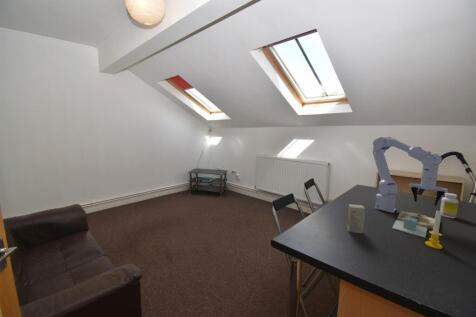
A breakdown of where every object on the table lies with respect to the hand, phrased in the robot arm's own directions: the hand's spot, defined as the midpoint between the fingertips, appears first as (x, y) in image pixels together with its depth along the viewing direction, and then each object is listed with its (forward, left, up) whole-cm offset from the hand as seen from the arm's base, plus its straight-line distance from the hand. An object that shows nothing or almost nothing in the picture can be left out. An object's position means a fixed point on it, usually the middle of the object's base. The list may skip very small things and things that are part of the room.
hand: (425, 203), depth 106 cm
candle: (+5, -27, -10) cm, 29 cm away
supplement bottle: (+9, +21, -10) cm, 25 cm away
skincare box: (-22, -37, -10) cm, 44 cm away
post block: (-2, 0, -10) cm, 10 cm away
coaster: (-4, -15, -10) cm, 19 cm away
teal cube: (-4, -15, -10) cm, 18 cm away
